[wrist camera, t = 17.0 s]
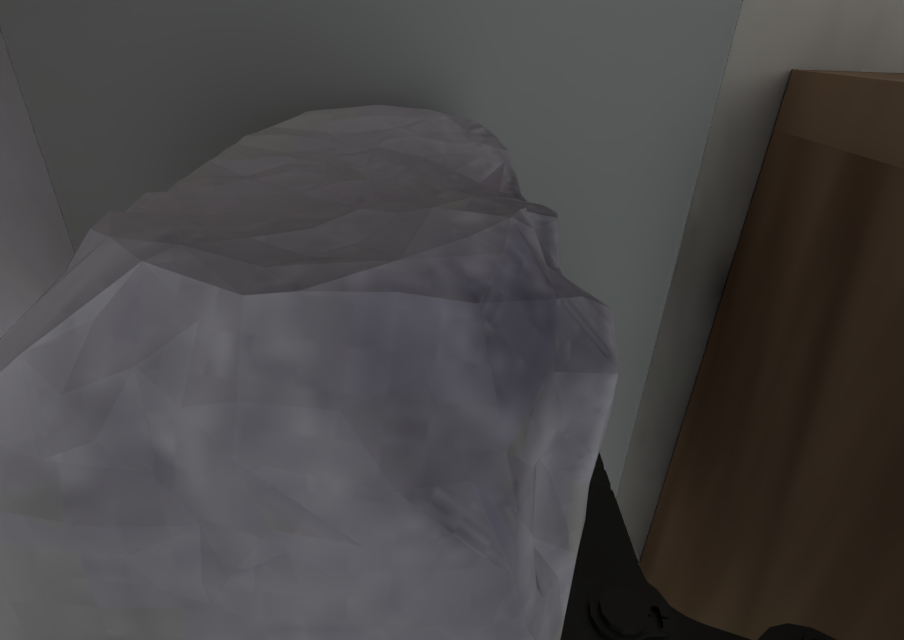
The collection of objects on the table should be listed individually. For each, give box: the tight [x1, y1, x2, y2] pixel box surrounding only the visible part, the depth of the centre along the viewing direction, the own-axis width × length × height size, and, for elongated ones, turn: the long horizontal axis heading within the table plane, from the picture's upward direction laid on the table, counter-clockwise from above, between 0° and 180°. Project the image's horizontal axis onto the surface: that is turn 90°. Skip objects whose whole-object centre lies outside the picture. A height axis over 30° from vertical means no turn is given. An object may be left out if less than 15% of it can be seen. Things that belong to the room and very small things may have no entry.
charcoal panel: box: [0, 0, 743, 498], centre depth 14 cm, size 14×18×1 cm
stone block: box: [0, 105, 618, 640], centre depth 9 cm, size 12×5×10 cm, turn 172°
